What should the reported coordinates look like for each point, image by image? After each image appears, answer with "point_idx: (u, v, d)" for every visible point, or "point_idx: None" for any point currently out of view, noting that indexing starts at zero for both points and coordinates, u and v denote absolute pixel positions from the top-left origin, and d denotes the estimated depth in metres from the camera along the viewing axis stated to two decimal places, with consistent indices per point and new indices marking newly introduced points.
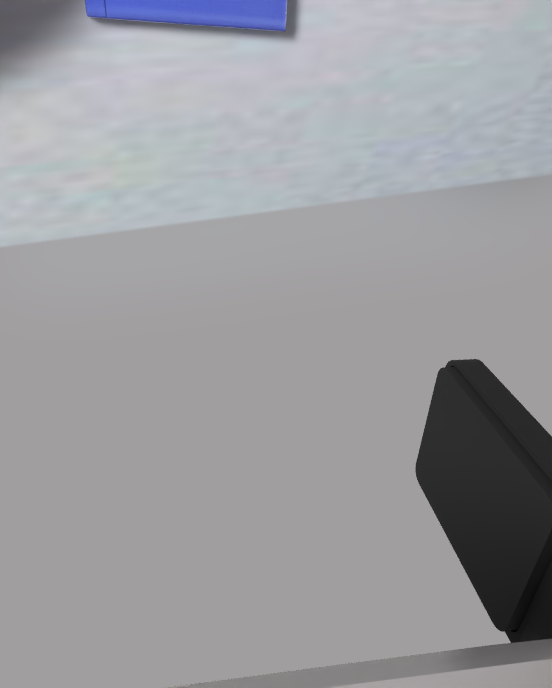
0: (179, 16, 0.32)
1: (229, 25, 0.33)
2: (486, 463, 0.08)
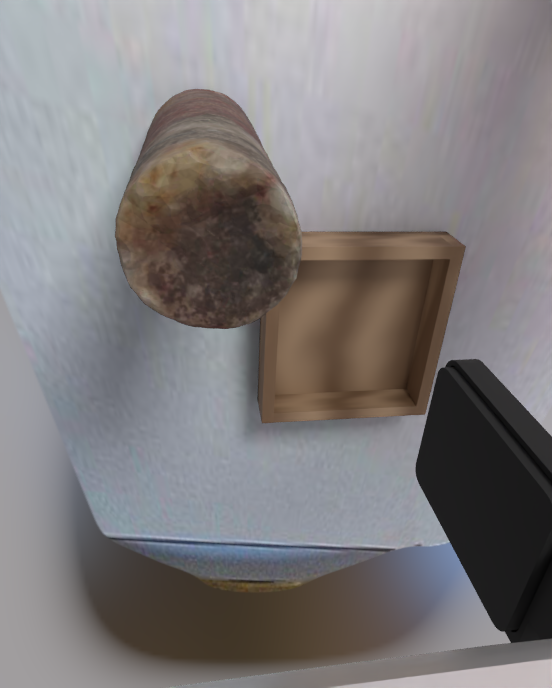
0: None
1: None
2: (486, 463, 0.08)
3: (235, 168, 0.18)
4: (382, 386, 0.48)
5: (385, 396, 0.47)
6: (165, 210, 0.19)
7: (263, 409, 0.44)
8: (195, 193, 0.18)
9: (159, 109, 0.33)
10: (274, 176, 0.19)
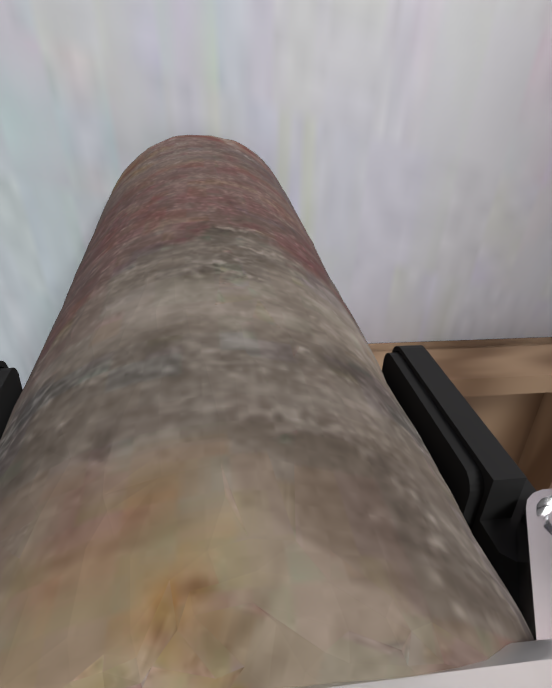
0: None
1: None
2: None
3: None
4: None
5: None
6: None
7: None
8: None
9: (124, 172, 0.18)
10: None
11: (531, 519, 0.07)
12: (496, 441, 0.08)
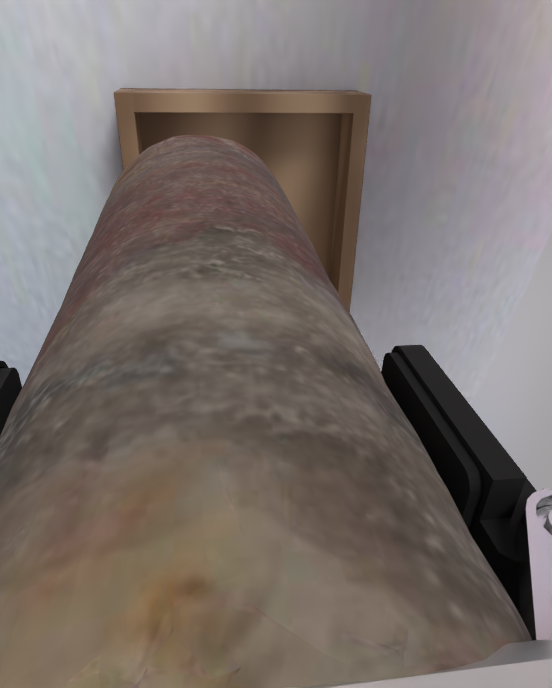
0: None
1: None
2: None
3: None
4: None
5: None
6: None
7: None
8: None
9: (123, 172, 0.18)
10: None
11: (531, 519, 0.07)
12: (496, 441, 0.08)
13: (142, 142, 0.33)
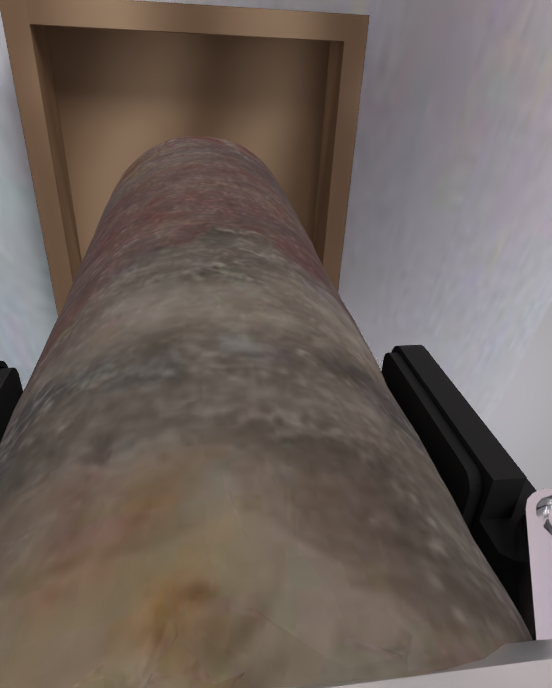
0: None
1: None
2: None
3: None
4: None
5: None
6: None
7: None
8: None
9: (124, 173, 0.18)
10: None
11: (531, 519, 0.07)
12: (496, 441, 0.08)
13: (54, 77, 0.24)
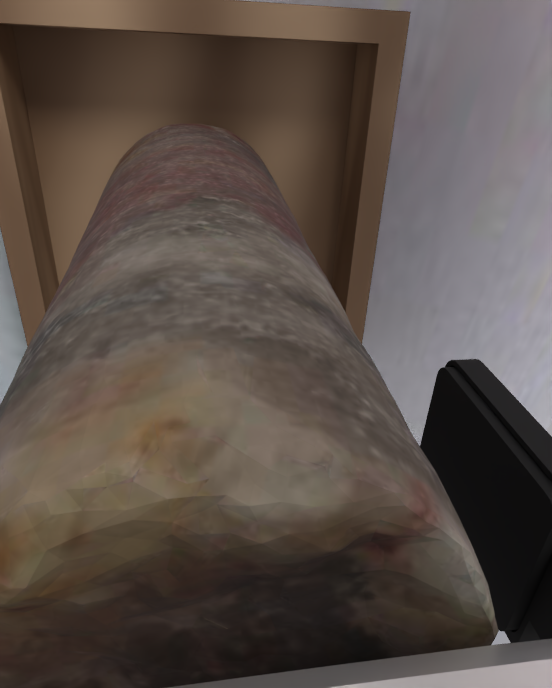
0: None
1: None
2: (486, 463, 0.08)
3: (304, 504, 0.05)
4: None
5: None
6: (66, 607, 0.06)
7: None
8: (164, 563, 0.05)
9: (121, 158, 0.20)
10: (426, 487, 0.06)
11: None
12: None
13: (24, 87, 0.19)
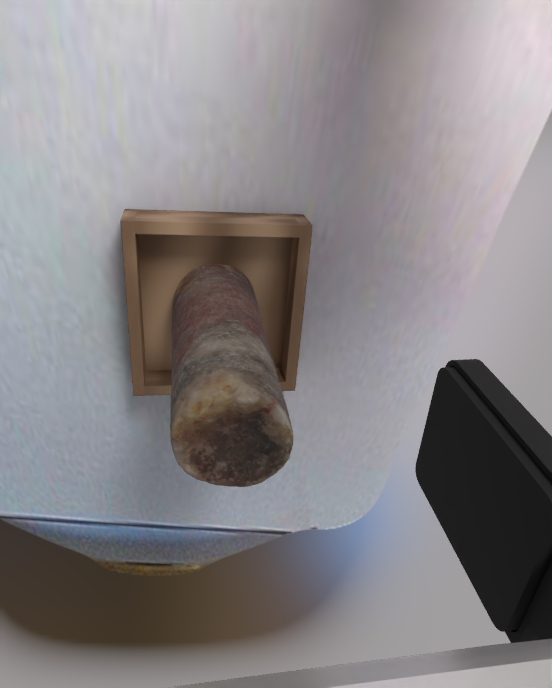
0: None
1: None
2: (486, 463, 0.08)
3: (250, 400, 0.28)
4: None
5: None
6: (205, 422, 0.29)
7: (133, 381, 0.46)
8: (224, 413, 0.28)
9: (182, 281, 0.43)
10: (275, 400, 0.29)
11: None
12: None
13: (139, 248, 0.43)
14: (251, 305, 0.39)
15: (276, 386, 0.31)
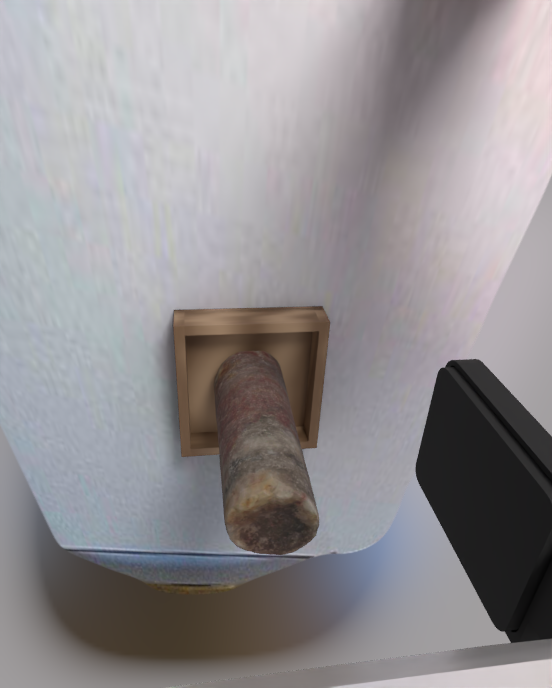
0: None
1: None
2: (486, 463, 0.08)
3: (286, 496, 0.37)
4: None
5: None
6: (251, 511, 0.37)
7: (181, 446, 0.55)
8: (266, 505, 0.37)
9: (222, 366, 0.52)
10: (305, 494, 0.37)
11: None
12: None
13: (186, 340, 0.51)
14: (281, 393, 0.48)
15: (305, 478, 0.39)
